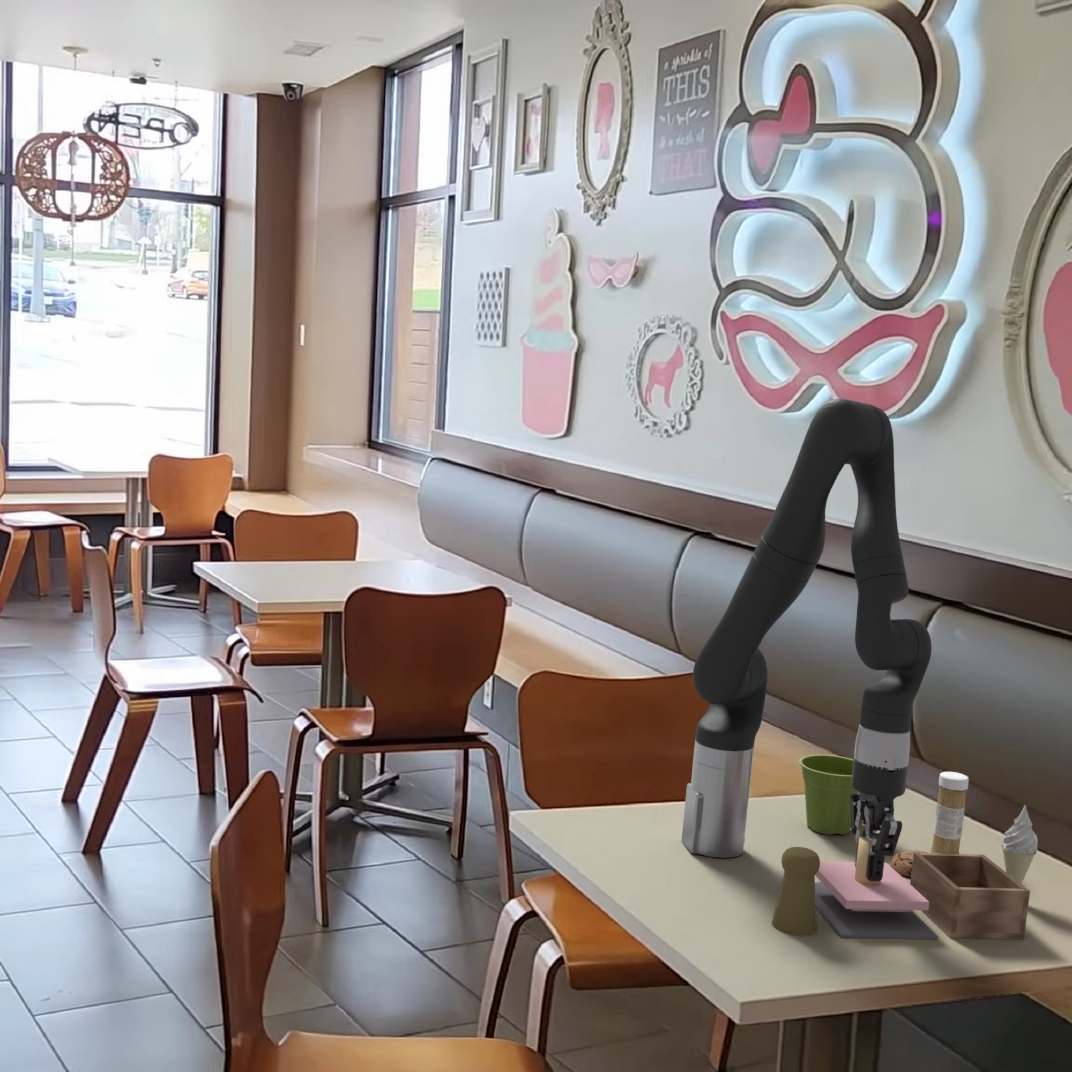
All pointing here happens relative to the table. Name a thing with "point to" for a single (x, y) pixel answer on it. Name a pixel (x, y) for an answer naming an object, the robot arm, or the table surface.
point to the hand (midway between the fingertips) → (868, 874)
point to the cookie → (904, 862)
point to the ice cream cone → (1019, 846)
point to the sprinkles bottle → (949, 813)
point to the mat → (869, 920)
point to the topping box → (970, 896)
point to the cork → (797, 892)
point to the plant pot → (828, 793)
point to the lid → (869, 885)
